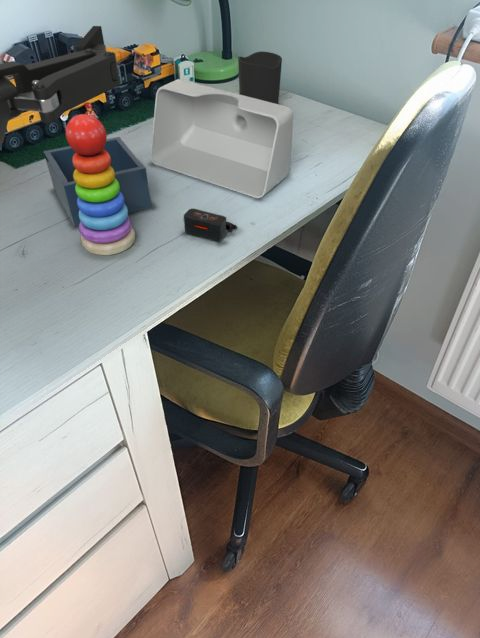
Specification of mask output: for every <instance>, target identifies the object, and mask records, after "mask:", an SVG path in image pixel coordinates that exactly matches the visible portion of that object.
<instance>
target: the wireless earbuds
mask: <svg viewBox="0 0 480 638" xmlns="http://www.w3.org/2000/svg"><path fill="white" fill-rule="evenodd" d="M183 222H184V223H183V227H184V232H185V234H187V235H190V236H193V237H197V238H201V239H204V240H208V241H212V242H215V243H221V242H222V241H223V240H224V239H225V238H226V236H227V232H228V233H232V232H233V231H235V230H237V229H238V226H237V225H236V224H234V223H232V222H229V221H227V217H226V216H224V215H221V214H216V213H213V212H208V211H205V210H201V209H198V208H189V209H188V210H187V211H185V213H184V214H183Z"/></svg>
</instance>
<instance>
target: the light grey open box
mask: <svg viewBox="0 0 480 638" xmlns="http://www.w3.org/2000/svg"><path fill="white" fill-rule="evenodd" d="M155 93H156V94H155V100H154V101H155V102H154V103H155V104H154V111H153V123H152V133H151V142H150V143H151V145H150V153H149V154H150V160H151V162H152V163H153V164H154V165H155V166H158V167H161V168H164V169H167V170H171V171H173V172H177V173H179V174H182V175H185V176H188V177H191V178H195V179H197V180H201V181H203V182H207V183H209V184H213V185H215V186H218V187H222V188H224V189H227V190H231V191H233V192H237V193H239V194H243V195H246V196H249V197H251V198H255V199H261V198H262V197H265V195H266V194H268V192H270V191H271V190H272V189H273V188H275V187H276V186H277V185H278V184H279V183H280V182H282V181H283V180H285V178H287V177H288V176H289V175H290V172H291V160H292V159H291V157H292V145H293V143H292V142H293V130H294V113H293V111H292V109H291V108H290V107H288V106H286V105H282V104H279V103H278V104H275V103H271V102H267V101H263V100H259V99H255V98H251V97H247V96H243V95H240V93H235V92H232V91H227V90H223V89H220V88H216V87H211V86H207V85H204V84H199V83H195V82H192V81H188V80H184V79H180V78H177V79H175V80H173V81H171V82H169V83H167V84H164V85H162V86H160V87H159V88H158V89H157V91H156V92H155Z"/></svg>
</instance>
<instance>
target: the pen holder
mask: <svg viewBox="0 0 480 638" xmlns="http://www.w3.org/2000/svg"><path fill="white" fill-rule="evenodd" d="M237 59H238V60H237V64H238V65H237V67H238V89H239V90H238V92H239V93H238V94H239V95H243V96H247V97H251V98H255V99H259V100H263V101H267V102H271V103H275V104H279V100H280V91H281V90H280V89H281V88H280V87H281V76H282V74H281V73H282V63H283V58H282V56H281V55H279V54H278V53H274V52H271V51H256V52H254V53H251V54H250V55H248V56H238V57H237Z"/></svg>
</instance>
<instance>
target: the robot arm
mask: <svg viewBox="0 0 480 638" xmlns="http://www.w3.org/2000/svg"><path fill="white" fill-rule="evenodd" d="M102 28H103V27H102V26H101V25H93V26H91V28H90V29H89V30H88V31H87V32H86V34H84V36H83V37H82V38H81V40H80V41H78V43H77V44H76V45H75V50H76V51H74V52H72V53H67V54H63V55H59V56H55V57H52V58H48V59H43V60H40V61H36V62H32V63H29V64H25V65H24V64H22V63H20V62H17V61H15V60H11V61H7V62H3V63H0V148H1V147H2V146H3V143H4V140H5V137H6V133H7V128H8V124H9V122H10V121H11V120H13V119H16V118H18V117H20V116H21V115H22V114H25V113H28V112H37V113H38V115H39V118H40V121H41V123H45V124H47V123H48V124H50V123H54V122H56V121H58V119H60V118H61V117H62V116H63V115H64V114H65V113H66V112H68V111H70V110H72V109H74V108H76V107H78V106H80V105H82V104H84V103H86V102H88V101H90V100H92V99H94V98H97V97H98V96H101V95H102V94H105V93H106V92H109V91H111V90H112V89H113V90H114V89H115V88H117V87H119V86H121V79H120V73H119V68H118V62H117V56H116V55H117V54H116V53H115V52H113V51H109V50H108V51H107V46H106V44H105V39H104V35H103V34H104V33H103V29H102ZM11 75H12V78H13V81H14V83H13V82H12V81H11V80H10V79H9V78H8V76H11Z"/></svg>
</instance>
